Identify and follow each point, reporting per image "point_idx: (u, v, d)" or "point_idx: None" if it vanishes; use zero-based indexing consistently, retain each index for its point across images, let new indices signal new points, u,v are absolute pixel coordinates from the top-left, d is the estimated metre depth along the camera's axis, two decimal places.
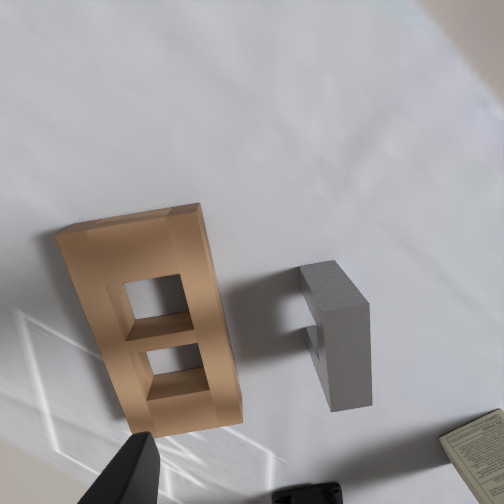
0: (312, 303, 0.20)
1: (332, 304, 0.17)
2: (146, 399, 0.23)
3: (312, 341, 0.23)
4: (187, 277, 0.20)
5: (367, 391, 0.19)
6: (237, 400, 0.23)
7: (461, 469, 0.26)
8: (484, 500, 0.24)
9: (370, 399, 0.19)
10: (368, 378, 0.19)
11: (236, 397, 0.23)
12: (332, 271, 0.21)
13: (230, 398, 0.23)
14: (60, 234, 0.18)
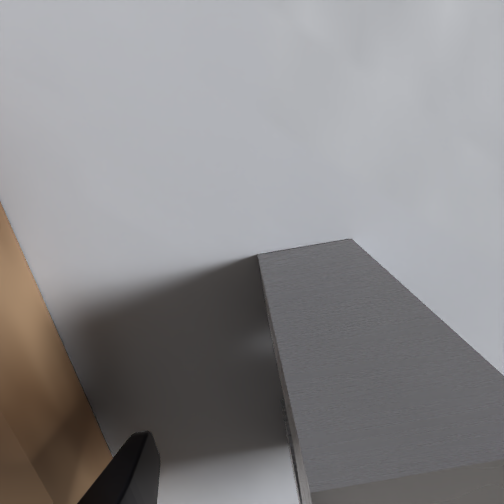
0: (282, 379, 0.06)
1: (368, 435, 0.03)
2: None
3: (293, 451, 0.09)
4: None
5: None
6: None
7: None
8: None
9: None
10: None
11: None
12: (348, 267, 0.07)
13: None
14: None
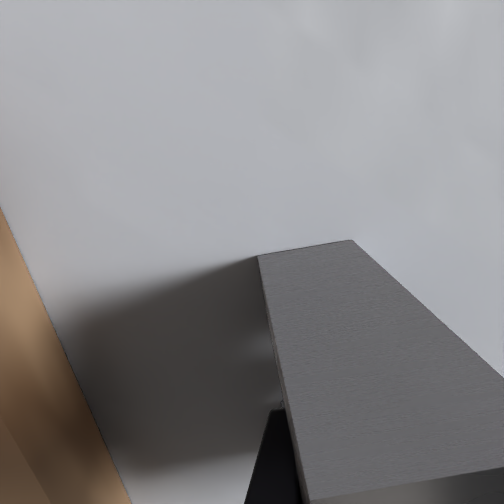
0: (282, 382, 0.06)
1: (368, 440, 0.03)
2: None
3: None
4: None
5: None
6: None
7: None
8: None
9: None
10: None
11: None
12: (349, 268, 0.07)
13: None
14: None
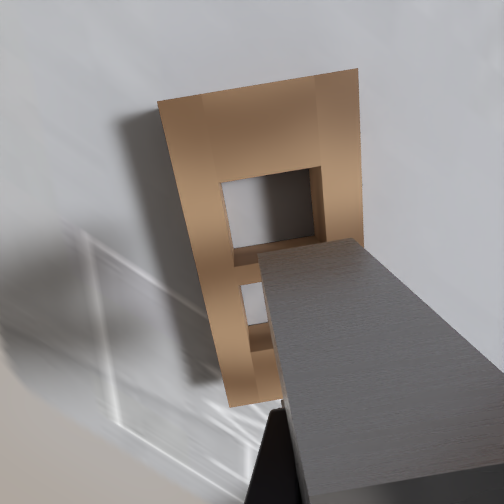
0: (281, 379, 0.05)
1: (369, 436, 0.03)
2: (250, 351, 0.17)
3: None
4: (330, 172, 0.14)
5: None
6: None
7: None
8: None
9: None
10: None
11: None
12: (349, 266, 0.07)
13: None
14: (164, 100, 0.13)
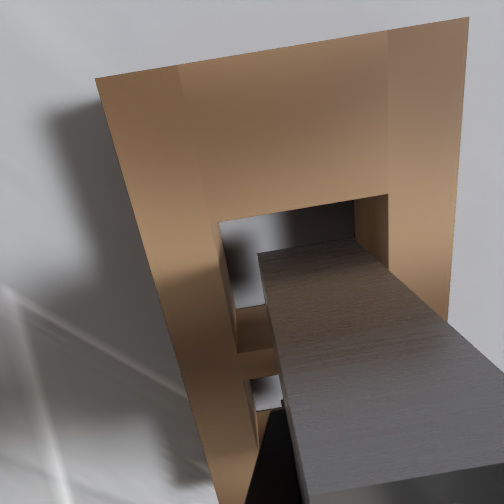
0: (281, 378, 0.05)
1: (369, 437, 0.03)
2: None
3: None
4: (403, 204, 0.08)
5: None
6: None
7: None
8: None
9: None
10: None
11: None
12: (349, 266, 0.07)
13: None
14: (110, 77, 0.07)
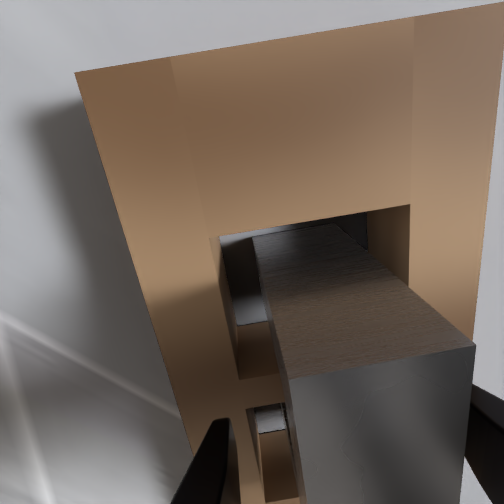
0: (272, 330, 0.07)
1: (332, 347, 0.05)
2: (265, 498, 0.11)
3: (285, 408, 0.10)
4: (427, 215, 0.07)
5: None
6: None
7: None
8: None
9: None
10: None
11: None
12: (329, 243, 0.08)
13: None
14: (92, 71, 0.06)
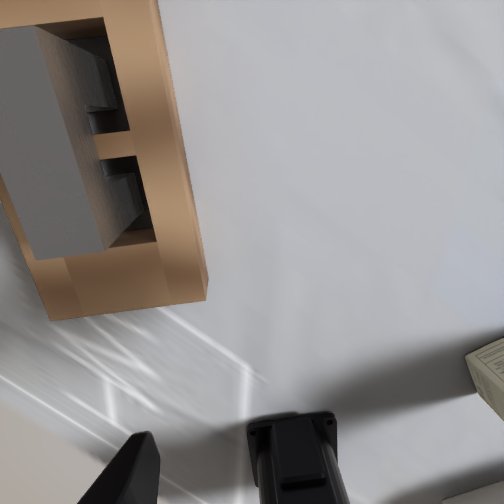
0: None
1: None
2: None
3: None
4: (115, 25, 0.12)
5: (87, 222, 0.12)
6: (197, 263, 0.16)
7: (498, 387, 0.20)
8: None
9: (97, 239, 0.12)
10: (80, 195, 0.11)
11: (196, 257, 0.16)
12: None
13: (187, 258, 0.16)
14: None
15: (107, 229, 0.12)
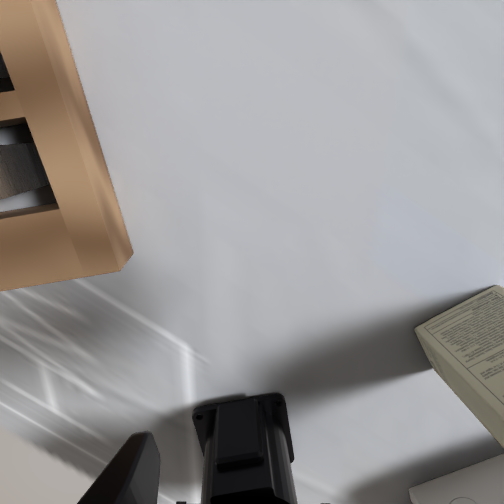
0: None
1: None
2: None
3: None
4: None
5: None
6: (105, 230, 0.16)
7: (442, 356, 0.19)
8: (474, 384, 0.17)
9: None
10: None
11: (103, 224, 0.16)
12: None
13: (94, 226, 0.16)
14: None
15: None
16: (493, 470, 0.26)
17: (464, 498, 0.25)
